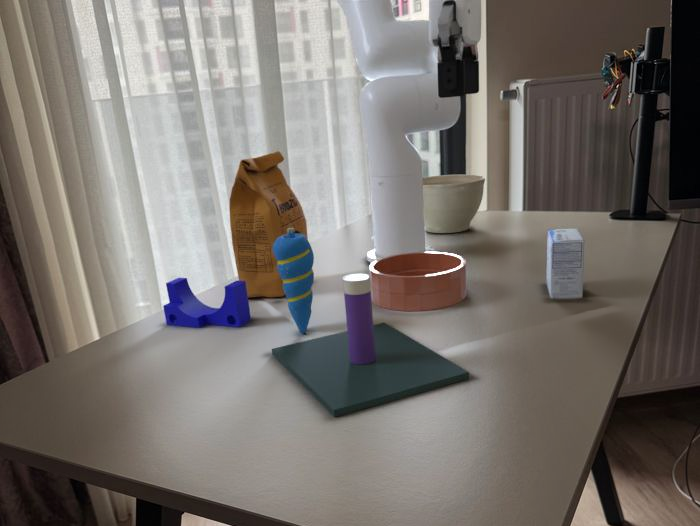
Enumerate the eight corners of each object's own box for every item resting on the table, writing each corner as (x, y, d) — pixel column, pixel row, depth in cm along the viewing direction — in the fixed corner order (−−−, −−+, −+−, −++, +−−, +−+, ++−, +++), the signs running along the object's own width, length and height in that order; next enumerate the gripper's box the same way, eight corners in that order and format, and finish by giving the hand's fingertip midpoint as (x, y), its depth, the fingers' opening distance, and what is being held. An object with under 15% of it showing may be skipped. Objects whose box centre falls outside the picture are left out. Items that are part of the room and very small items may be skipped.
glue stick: (345, 358, 76) (337, 276, 73) (369, 352, 78) (362, 271, 74) (356, 367, 74) (349, 282, 70) (380, 361, 75) (374, 277, 71)
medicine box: (582, 301, 91) (585, 240, 88) (549, 301, 92) (551, 241, 89) (576, 284, 98) (578, 227, 95) (545, 285, 99) (547, 229, 96)
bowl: (356, 297, 101) (353, 262, 99) (434, 280, 107) (433, 247, 104) (400, 321, 89) (398, 283, 87) (485, 301, 94) (485, 264, 92)
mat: (272, 354, 82) (271, 348, 81) (384, 327, 87) (384, 322, 87) (334, 417, 65) (333, 410, 64) (469, 378, 70) (469, 372, 70)
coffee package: (322, 282, 111) (309, 148, 103) (282, 304, 101) (264, 158, 93) (274, 278, 116) (258, 151, 108) (232, 299, 106) (210, 160, 98)
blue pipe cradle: (166, 324, 96) (159, 286, 94) (185, 315, 100) (178, 277, 98) (233, 330, 91) (227, 290, 89) (251, 320, 95) (245, 280, 93)
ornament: (292, 342, 85) (278, 229, 79) (278, 332, 89) (263, 224, 84) (327, 334, 87) (316, 222, 82) (312, 324, 91) (300, 217, 86)
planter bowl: (498, 230, 137) (498, 178, 133) (427, 241, 133) (425, 187, 129) (464, 219, 151) (464, 171, 147) (400, 228, 147) (397, 179, 143)
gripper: (442, -43, 86) (445, 95, 92) (406, -66, 71) (414, 100, 78) (499, -52, 83) (499, 90, 90) (475, -78, 69) (476, 95, 75)
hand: (459, 95), depth 84 cm, fingers open, 9 cm apart
